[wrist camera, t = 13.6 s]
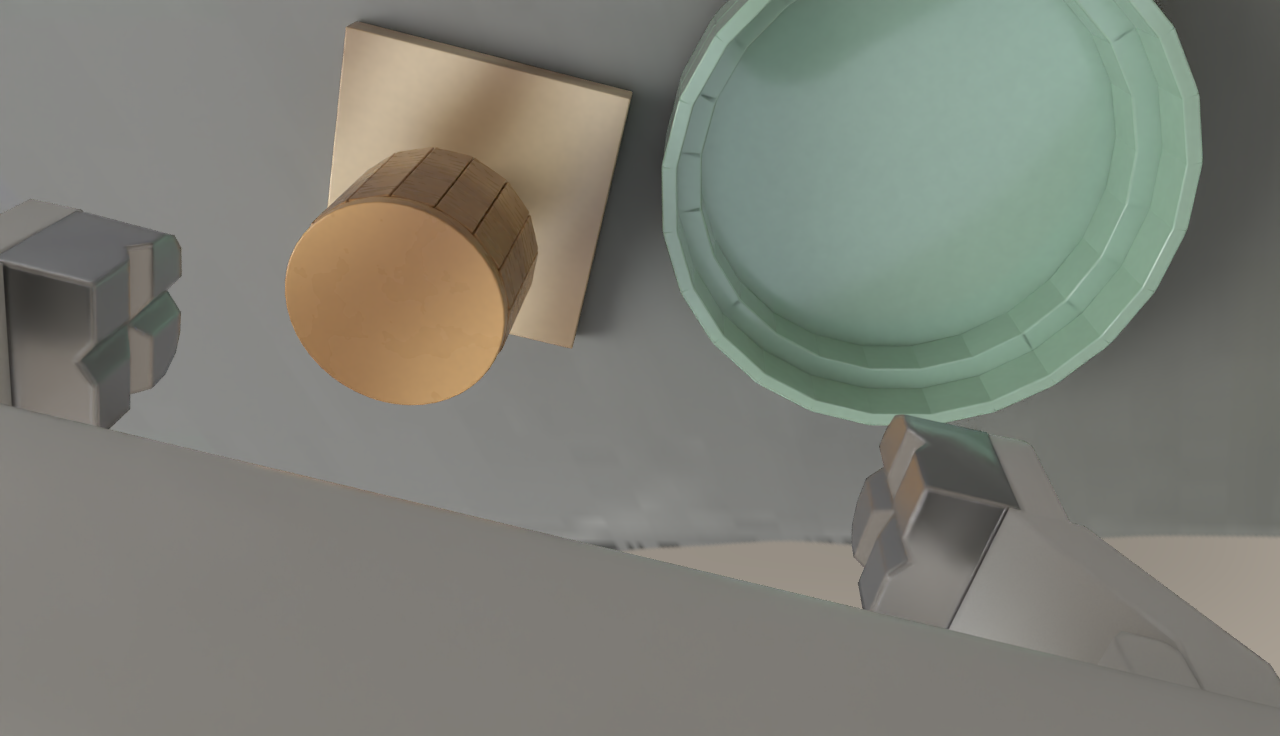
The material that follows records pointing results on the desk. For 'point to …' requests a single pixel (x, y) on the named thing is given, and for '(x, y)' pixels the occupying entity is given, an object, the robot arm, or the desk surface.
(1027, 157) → the bowl
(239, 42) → the desk surface
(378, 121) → the ball stand
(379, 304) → the wood cap
